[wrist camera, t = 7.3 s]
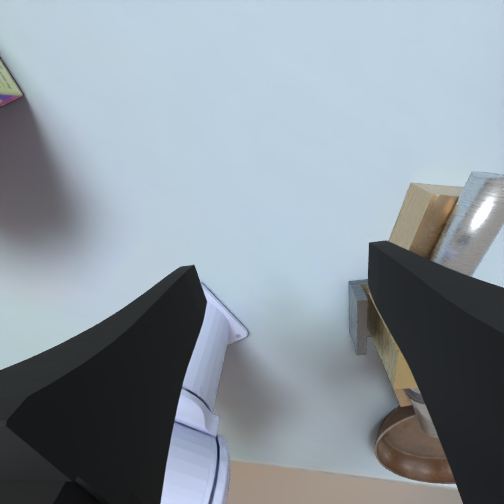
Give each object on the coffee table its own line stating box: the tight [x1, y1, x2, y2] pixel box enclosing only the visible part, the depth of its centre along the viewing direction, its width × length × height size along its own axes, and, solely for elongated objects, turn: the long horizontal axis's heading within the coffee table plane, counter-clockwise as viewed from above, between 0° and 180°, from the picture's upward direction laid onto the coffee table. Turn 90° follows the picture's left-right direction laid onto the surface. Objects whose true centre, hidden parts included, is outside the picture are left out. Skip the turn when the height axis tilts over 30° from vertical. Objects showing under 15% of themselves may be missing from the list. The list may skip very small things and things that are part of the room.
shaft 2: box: [389, 172, 504, 277], centre depth 16 cm, size 8×4×6 cm, turn 176°
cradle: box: [349, 279, 371, 355], centre depth 22 cm, size 6×7×3 cm
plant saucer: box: [375, 405, 456, 484], centre depth 30 cm, size 18×18×3 cm
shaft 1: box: [387, 374, 439, 438], centre depth 24 cm, size 8×4×6 cm, turn 26°
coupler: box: [368, 295, 418, 389], centre depth 20 cm, size 6×4×6 cm
